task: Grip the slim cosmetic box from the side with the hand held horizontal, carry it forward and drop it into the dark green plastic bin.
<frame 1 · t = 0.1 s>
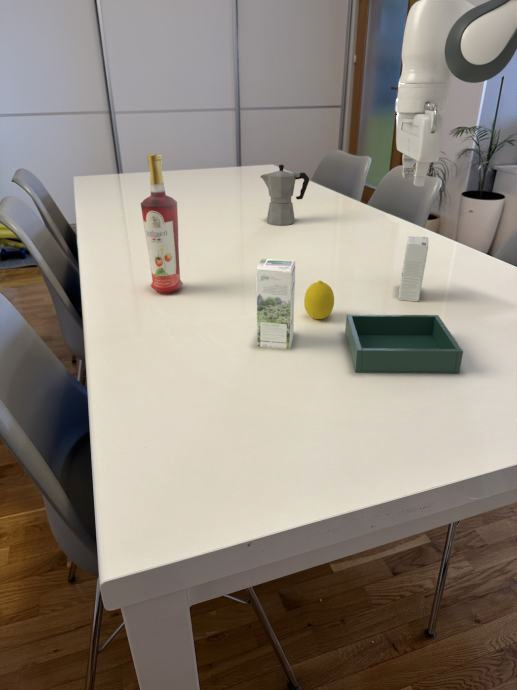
hand: (412, 181, 98), 23 cm above the table, tool pointing down, fingers open, 8 cm apart
lemon: (318, 321, 97), on the table
bin: (397, 356, 84), on the table
coffeepot: (284, 223, 168), on the table
syrup box: (275, 345, 88), on the table
liquor: (167, 291, 113), on the table
cosmetic box: (409, 297, 108), on the table
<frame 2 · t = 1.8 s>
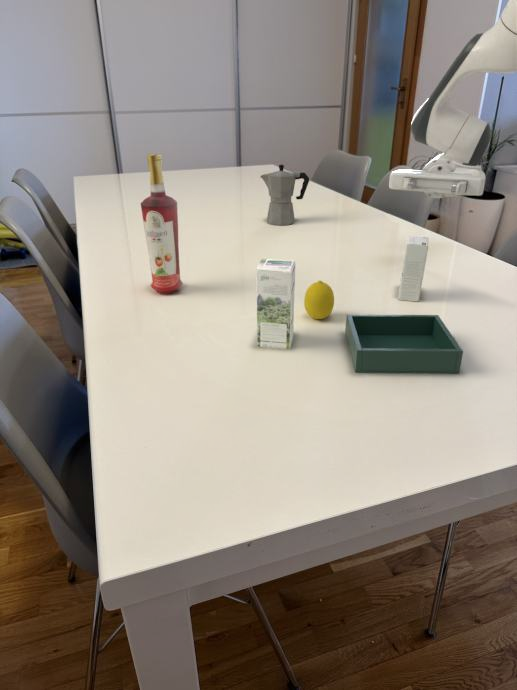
hand: (431, 188, 108), 20 cm above the table, tool horizontal, fingers open, 8 cm apart
nothing on the table moved.
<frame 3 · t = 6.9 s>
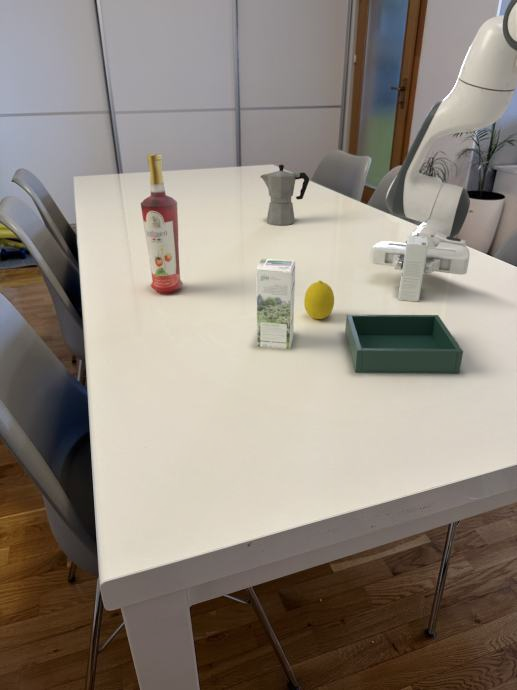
hand: (412, 267, 104), 7 cm above the table, tool horizontal, fingers closed on cosmetic box, 4 cm apart
cosmetic box: (409, 297, 108), on the table, touching gripper
everything else where it was.
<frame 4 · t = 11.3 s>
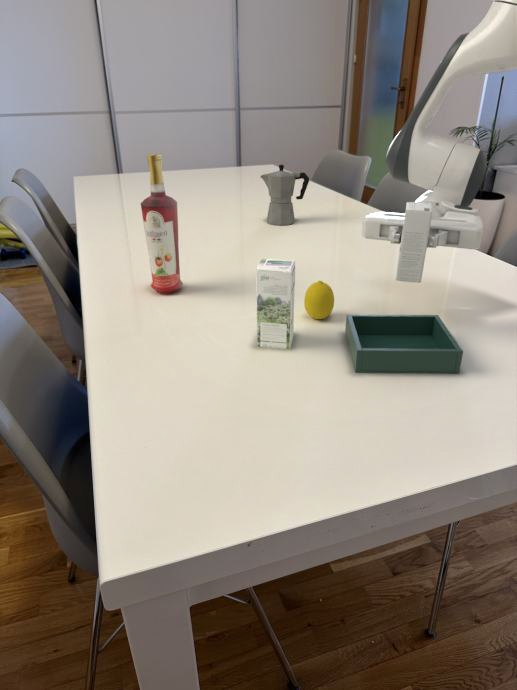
hand: (413, 241, 84), 17 cm above the table, tool horizontal, fingers closed on cosmetic box, 4 cm apart
cosmetic box: (409, 278, 88), point 10 cm above the table, touching gripper
everything else where it was.
when the fingers open (7 cm above the table, at t = 15.6 s): cosmetic box stays where it is, resting on bin.
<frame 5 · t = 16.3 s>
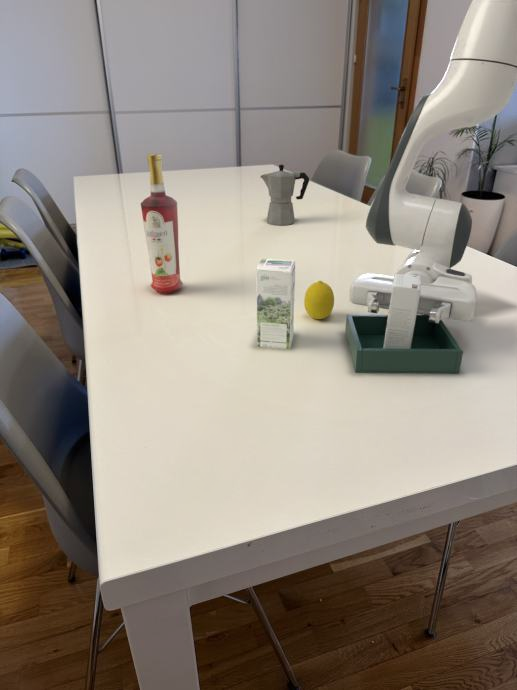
hand: (402, 313, 80), 8 cm above the table, tool horizontal, fingers open, 8 cm apart
cosmetic box: (397, 351, 84), point 1 cm above the table, touching bin
everything else where it was.
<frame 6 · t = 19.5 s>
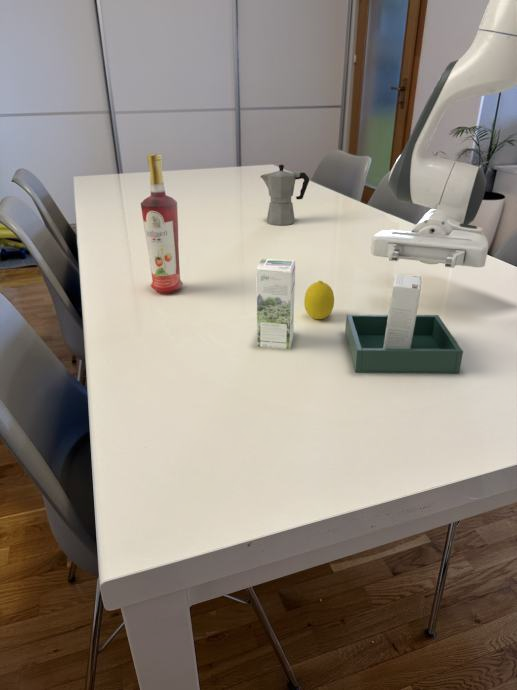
hand: (421, 259, 88), 13 cm above the table, tool horizontal, fingers open, 8 cm apart
nothing on the table moved.
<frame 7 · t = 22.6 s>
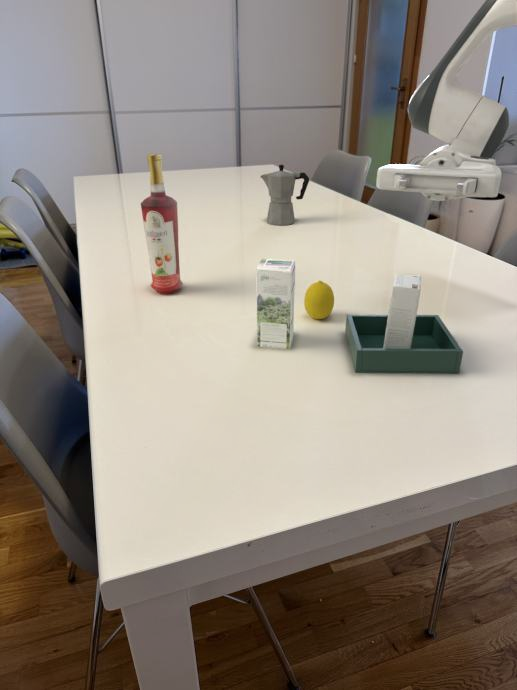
hand: (430, 187, 83), 25 cm above the table, tool horizontal, fingers open, 8 cm apart
nothing on the table moved.
at the end: cosmetic box inside the target area in the bin (0.1 cm from its centre), point 0.8 cm above the bin's base; the gripper is holding nothing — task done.
